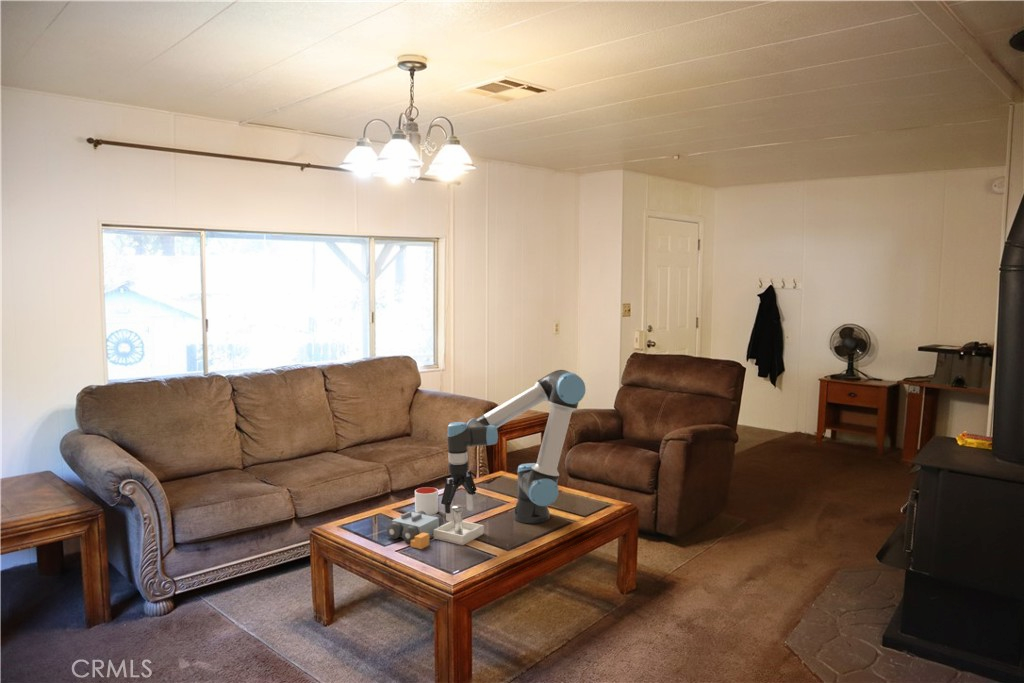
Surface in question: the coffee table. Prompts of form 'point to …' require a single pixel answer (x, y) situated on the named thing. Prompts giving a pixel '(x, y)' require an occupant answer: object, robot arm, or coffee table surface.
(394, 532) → the trolley
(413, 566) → the coffee table surface
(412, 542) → the block
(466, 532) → the tray
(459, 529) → the pin
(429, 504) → the cup
